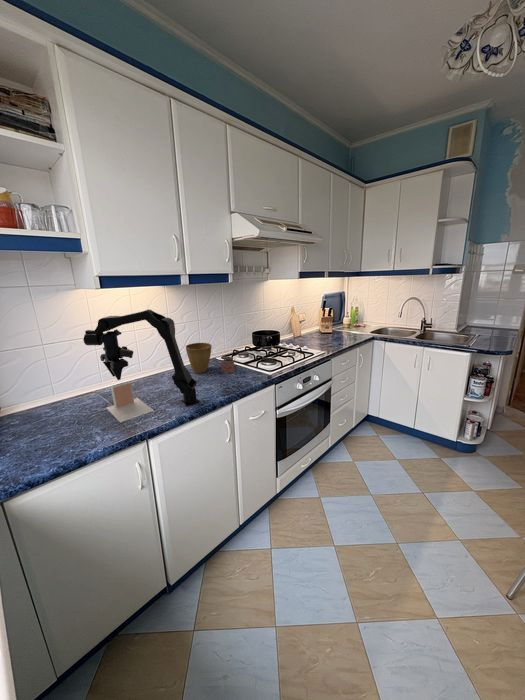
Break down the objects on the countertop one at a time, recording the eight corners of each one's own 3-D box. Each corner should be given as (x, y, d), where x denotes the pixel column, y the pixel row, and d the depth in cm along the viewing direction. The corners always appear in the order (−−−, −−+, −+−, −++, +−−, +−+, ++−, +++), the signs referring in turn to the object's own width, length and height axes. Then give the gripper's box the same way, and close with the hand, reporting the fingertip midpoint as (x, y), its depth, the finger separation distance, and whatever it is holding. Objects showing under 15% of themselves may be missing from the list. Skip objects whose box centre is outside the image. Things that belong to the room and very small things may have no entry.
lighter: (235, 371, 172) (234, 355, 169) (234, 373, 169) (233, 357, 166) (222, 371, 173) (221, 355, 170) (220, 373, 170) (219, 357, 167)
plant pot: (197, 377, 164) (195, 350, 159) (183, 371, 174) (180, 346, 169) (218, 370, 174) (216, 345, 170) (203, 365, 184) (201, 341, 180)
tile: (134, 402, 133) (131, 382, 131) (116, 408, 128) (112, 387, 125) (132, 400, 135) (129, 381, 132) (114, 406, 130) (110, 386, 127)
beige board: (154, 411, 126) (153, 410, 126) (120, 423, 117) (120, 422, 117) (137, 398, 138) (137, 397, 138) (106, 408, 129) (105, 407, 129)
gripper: (137, 345, 127) (142, 378, 131) (122, 338, 140) (127, 368, 144) (110, 350, 119) (116, 385, 124) (97, 342, 132) (103, 374, 137)
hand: (116, 378), depth 132 cm, fingers open, 6 cm apart
